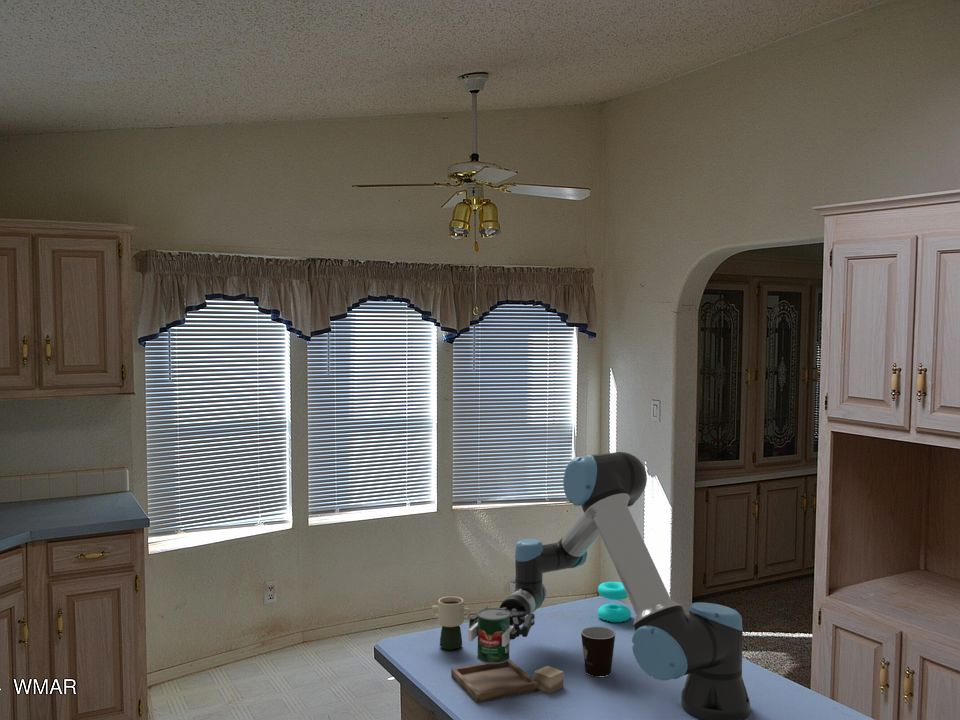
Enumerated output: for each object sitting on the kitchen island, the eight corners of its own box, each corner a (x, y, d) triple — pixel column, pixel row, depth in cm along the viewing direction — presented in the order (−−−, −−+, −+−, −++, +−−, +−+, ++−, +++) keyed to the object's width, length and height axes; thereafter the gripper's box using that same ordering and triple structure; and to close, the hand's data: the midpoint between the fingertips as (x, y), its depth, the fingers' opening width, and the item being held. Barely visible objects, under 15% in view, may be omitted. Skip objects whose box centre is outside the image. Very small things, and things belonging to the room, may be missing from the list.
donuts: (591, 585, 242) (610, 578, 249) (591, 618, 242) (609, 610, 250) (619, 592, 235) (637, 585, 242) (618, 626, 235) (637, 617, 243)
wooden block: (563, 687, 194) (563, 671, 194) (550, 694, 190) (550, 677, 190) (547, 681, 197) (547, 665, 197) (534, 687, 194) (534, 671, 194)
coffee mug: (614, 680, 198) (614, 640, 197) (579, 677, 199) (579, 637, 199) (616, 662, 209) (616, 624, 209) (583, 659, 211) (583, 621, 210)
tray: (538, 690, 192) (538, 682, 191) (476, 702, 185) (476, 694, 185) (509, 666, 206) (509, 658, 206) (451, 676, 200) (451, 668, 200)
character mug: (473, 644, 221) (473, 597, 221) (467, 653, 214) (467, 605, 214) (435, 641, 224) (435, 594, 223) (428, 650, 217) (428, 602, 217)
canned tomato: (480, 665, 191) (480, 619, 191) (475, 652, 199) (475, 608, 199) (512, 663, 192) (512, 618, 192) (506, 650, 200) (506, 607, 200)
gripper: (481, 589, 216) (446, 616, 195) (555, 599, 208) (527, 628, 187) (480, 617, 216) (446, 647, 195) (554, 627, 208) (527, 660, 187)
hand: (486, 638), depth 191 cm, fingers closed on canned tomato, 8 cm apart
